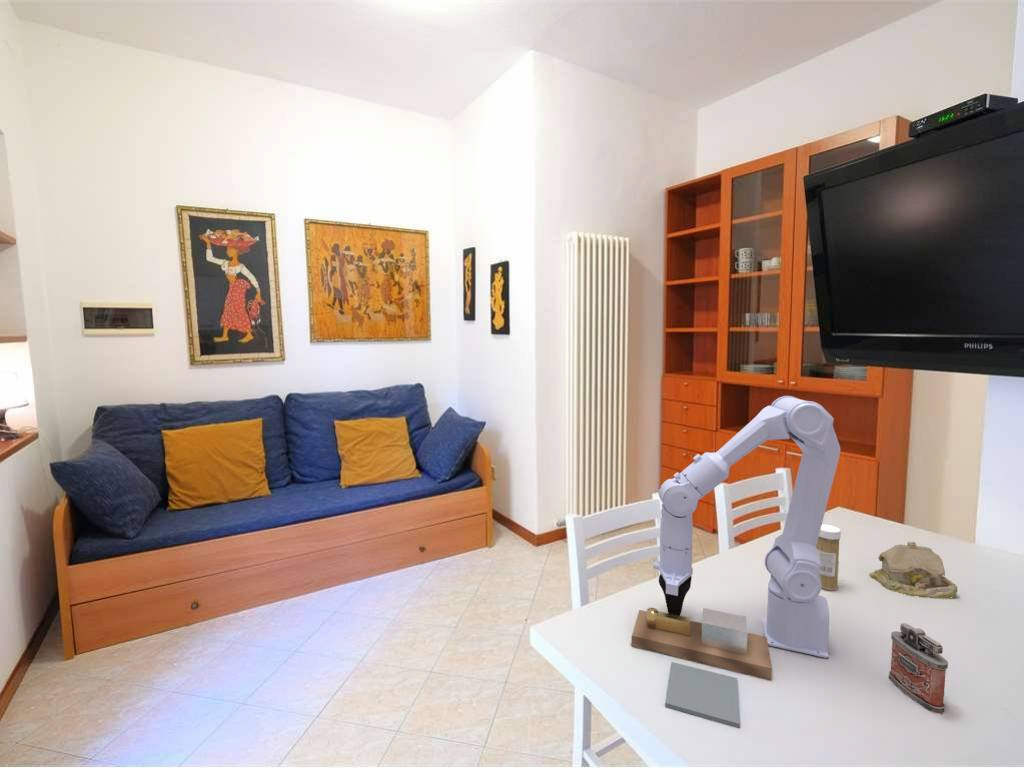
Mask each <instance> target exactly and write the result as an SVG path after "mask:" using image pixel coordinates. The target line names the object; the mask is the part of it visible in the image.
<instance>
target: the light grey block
mask: <svg viewBox="0 0 1024 768" xmlns="http://www.w3.org/2000/svg"><path fill="white" fill-rule="evenodd" d="M701 623H702V644H701V645H704V646H708V647H712V648H717V649H721V650H725V651H730V652H734V653H739V654H743V655H747V633H749V632H748V624H747V617H746V616H744V615H740V614H736V613H735V614H733V613H731V612H725V611H719V610H714V609H711V608H710V609H709V608H705V607H703V608H702V619H701Z"/></svg>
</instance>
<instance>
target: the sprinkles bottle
mask: <svg viewBox="0 0 1024 768" xmlns="http://www.w3.org/2000/svg"><path fill="white" fill-rule="evenodd" d="M841 533H842V532H841V529H840V528H839V527H837V526H835V525H831V524H823V523H822V526H821V530H820V533H819V537H818V541H817V545H816V549H817V552H818V556H819V560H820V563H821V567H820V571H819V575H820V579H821V584H822V587H821V590H824V591H825V590H826V591H831V592H833V591H837V590H838V588H839V585H838V580H839V578H838V577H839V570H840V569H839V565H840V562H839V555H840V539H841Z"/></svg>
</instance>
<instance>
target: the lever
mask: <svg viewBox="0 0 1024 768" xmlns="http://www.w3.org/2000/svg"><path fill="white" fill-rule="evenodd" d="M646 611H647V626H648V627H649V628H656V629H661V630H665V631H670V632H674V633H679V634H683V635H687V636H690V621H691V620H692V619H691V618H690V617H687V616H682V615H680V616H678V615H674V614H669V613H668V612H663V611H659V610H658V609H657V608H654V607H648V608H647V609H646Z"/></svg>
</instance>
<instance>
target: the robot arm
mask: <svg viewBox="0 0 1024 768" xmlns="http://www.w3.org/2000/svg"><path fill="white" fill-rule="evenodd" d="M834 420H835V418H834V417H833V416H832V415H831V414H830V413H829V412H828V410H826V409H825V408H824V407H823V406H822V405H821V404H820V403H818V402H815V401H811V400H810V401H809V400H804V399H800V398H798V397H795V396H794V395H793V396H791V395H783V396H781V397H780V396H779V397H778V398H777V399H775V400H774V401H772V402H771V405H767V406H766V407H764V408H762V409H761V410H760V412H759V413H758V414H757V415H756V416H755V417H754V418H752V420H750V422H749V423H747V424H746V425H745V426H744V427H742V428H741V429H740V431H738V432H737V433H736V434H735V435H733V436H732V438H731V439H729V440H728V441H727V442H726V443H725V444H724V445H723V446H722V447H720V449H718V450H717V451H716V452H715V451H714V452H704V453H703V454H701V455H700V453H697V454H696V455H695V456H694V457H693V458H692V459H693V461H692V463H690V464H688V466H686V467H685V468H684V469H683V470H682V471H680V472H678V471H677V472H676V473H674V474H673V478H668V479H666V480H665V481H664V482H663V483H662V484H661V486H660V488H659V489H658V491H657V492H658V497H659V499H660V501H661V502H662V504H661V510H660V514H661V516H660V525H659V526H660V529H659V530H660V533H659V561H658V560H654V561H653V563H652V568H653V569H655V570H658V571H659V572H660V573H659V577H658V584H659V586H660V587H661V589H662V590H661V591H662V592H663V595H664V599H665V604H666V609H667V613H669V614H674V615H678V616H681V615H682V614H681V613H682V610H683V606H684V601H685V598H686V596H687V594H688V592H689V591H690V589H691V584H692V577H693V573H694V569H693V533H694V532H693V529H694V528H693V527H694V523H693V522H694V521H693V513H694V512H695V511H696V510H697V508H698V503H699V502H698V501H699V500H702V499H703V498H704V497H705V496H707V495H708V494H709V493H710V492H712V491H713V490H714V489H715V488H716V487H718V486H719V485H720V484H722V483H723V482H725V481H726V480H727V479H728V478H729V475H730V469H731V466H733V465H735V464H736V463H737V462H738V461H740V460H741V459H742V458H744V457H746V456H747V455H748V454H750V453H751V452H752V451H754V450H755V449H757V448H758V447H759V446H761V445H762V444H763V443H765V442H766V441H773V440H774V441H775V440H790V438H791V439H792V440H793V441H794V442H795V444H796V445H797V446H798V448H799V449H800V450H801V452H802V454H801V458H800V462H799V465H798V471H797V475H796V479H795V481H794V482H795V483H794V485H793V490H792V494H791V498H790V502H789V505H788V506H789V507H788V510H787V515H786V517H785V518H786V519H785V524H784V527H783V531H782V533H781V534H780V535H779V536H776V538H775V539H774V543H773V545H772V547H771V548H770V549H769V550H768V551H767V553H766V554H765V557H764V567H765V569H766V571H767V572H768V573H769V574H770V578H769V581H768V586H767V606H766V607H767V610H766V611H767V612H766V613H767V614H766V619H762V627H763V636H765V637H767V642H768V647H769V646H770V647H773V648H774V647H775V648H779V649H784V650H789V651H793V652H798V653H803V654H807V655H813V656H816V657H821V658H825V659H827V658H829V639H830V638H829V634H830V610H829V603H828V600H827V598H826V597H825V596H823V595H820V593H821V592H822V588H821V587H822V584H821V579H820V575H819V571H820V567H821V563H820V560H819V556H818V552H817V549H816V545H817V541H818V537H819V533H820V530H821V526H822V524H823V521H824V518H825V513H826V509H827V506H828V502H829V498H830V495H831V490H832V486H833V482H834V478H835V474H836V472H837V467H838V463H839V459H840V455H841V446H840V443H839V440H838V437H837V434H836V432H835V428H834Z"/></svg>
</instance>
